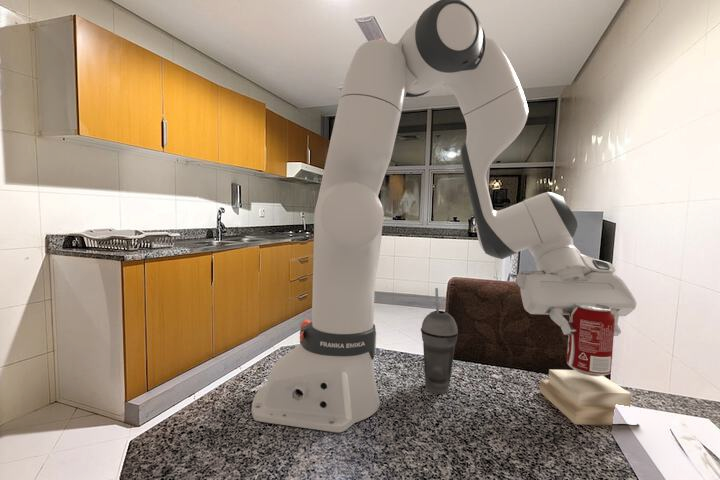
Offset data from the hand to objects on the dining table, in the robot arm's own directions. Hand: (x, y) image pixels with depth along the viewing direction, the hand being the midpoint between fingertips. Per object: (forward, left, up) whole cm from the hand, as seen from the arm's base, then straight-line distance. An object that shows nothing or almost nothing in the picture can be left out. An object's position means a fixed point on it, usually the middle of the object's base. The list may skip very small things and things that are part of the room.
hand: (592, 334), depth 62 cm
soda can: (0, +1, -7) cm, 7 cm away
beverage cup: (-26, +7, -14) cm, 30 cm away
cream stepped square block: (0, +1, -14) cm, 14 cm away
